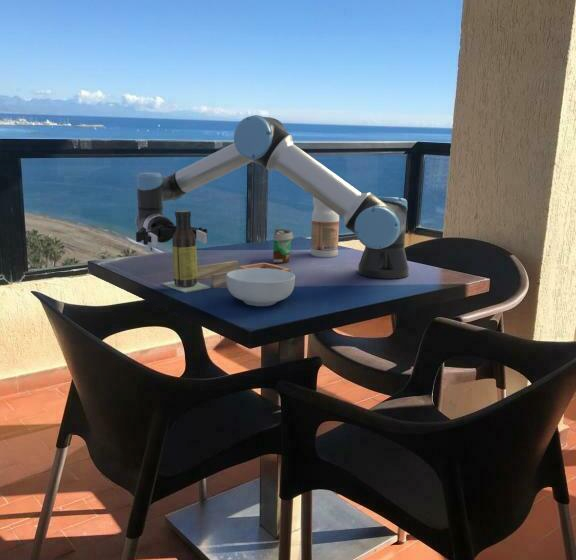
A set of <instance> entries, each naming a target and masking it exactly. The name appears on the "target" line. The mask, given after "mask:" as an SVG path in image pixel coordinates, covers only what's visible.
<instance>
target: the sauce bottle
mask: <svg viewBox="0 0 576 560" xmlns="http://www.w3.org/2000/svg"><path fill="white" fill-rule="evenodd" d="M191 216H192V213H191V210H188V209H187V210H185V209H184V210H183V209H182V210H175V212H174V217H175V223H176V224H175V226H176V231H175V232H174V234H173V238H172V239H171V241H172V245H171V246H172V248H171V249H172V263H173V268H172V269H173V279H174V281H175V285H176V286H179V287H189V286H193V285H195V284H197V282H198V280H197V266H198V255H197V253H198V252H197V240H196V238H195V235H194V233H193V231H192V230H191V227H192V226H191Z"/></svg>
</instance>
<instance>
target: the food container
mask: <svg viewBox="0 0 576 560" xmlns="http://www.w3.org/2000/svg"><path fill="white" fill-rule="evenodd" d="M274 230H275V231H274V233H273V254H272V255H273V259H272V260H273V264H272V265H286V264H288V263H290V259H291V258H290V257H291V256H290V255H291V248H292V246H291V245H292V240H293V239H294V234H293V232H292V230H290V229H286V228H275V229H274Z"/></svg>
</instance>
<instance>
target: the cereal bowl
mask: <svg viewBox="0 0 576 560" xmlns="http://www.w3.org/2000/svg"><path fill="white" fill-rule="evenodd" d="M226 281H227V286H226V287H227V291H228V292H229V293H230V294H231V295H232V296H233V297H234V298H236V299H238V300H241V301H243V303H245V304H246V305H249V306H253V307H269V306H273V305H275V304H277V303H278V302H280V301H282V300H285V299H287V298H288V297H289V296H290V295H291V294H292V293H293V291H294V288H295V283H296V275H295V274H294V273H292V271H291V272H288V271H284V270H278V269H268V268H250V269H240V270H239V269H238V270H234V271H231V272H228V273H227V275H226Z"/></svg>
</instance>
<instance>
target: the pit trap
mask: <svg viewBox="0 0 576 560" xmlns="http://www.w3.org/2000/svg"><path fill="white" fill-rule="evenodd" d="M252 267H261V268H268V269H278V270H284V271H288V272H291V273H292V271H291V268H287V267H283V266H281V265H277V264H272V263H267V262H258V263H253V264H246V265H241V266H239V265H238V270H240V269H246V268H252Z"/></svg>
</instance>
